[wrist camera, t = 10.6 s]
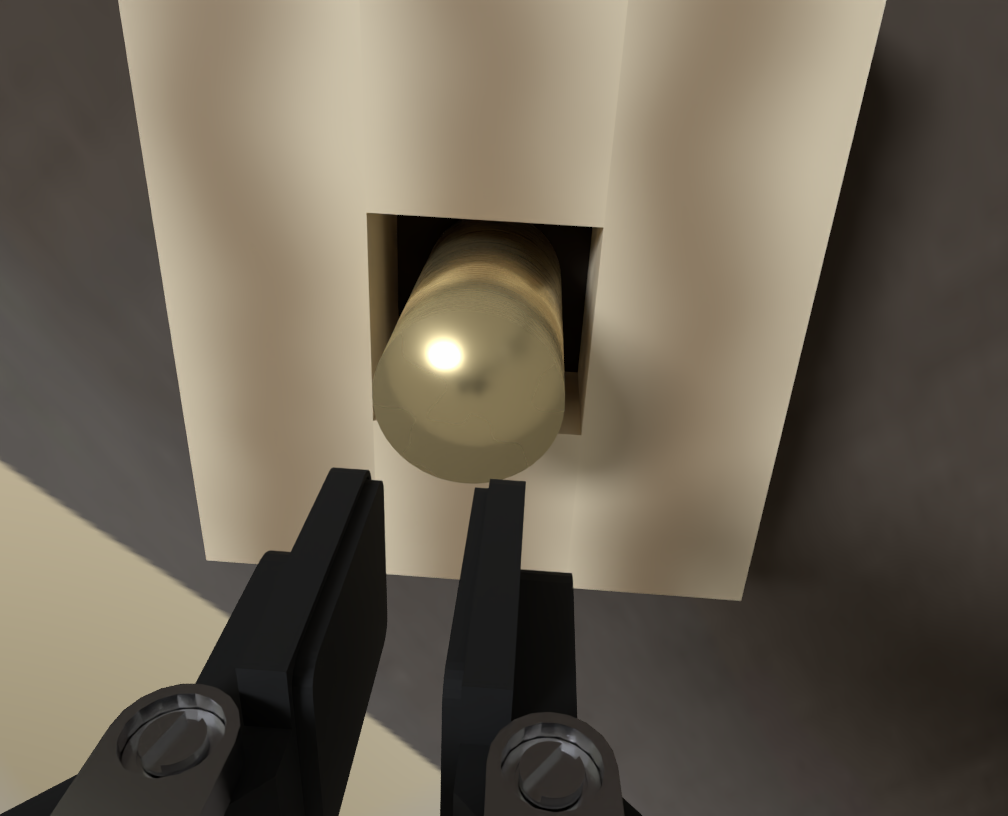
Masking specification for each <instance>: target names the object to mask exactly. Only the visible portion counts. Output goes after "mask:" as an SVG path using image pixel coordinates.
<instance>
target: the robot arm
mask: <svg viewBox="0 0 1008 816" xmlns="http://www.w3.org/2000/svg"><path fill="white" fill-rule="evenodd" d="M525 490H526V481H515V480H501V479H490V482H489V488H478V487H475V490H474V495H473V502H472V508H471V514H470V520H469V526H468V532H467V538H466V544H465V550H464V556H463V562H462V568H461V575H460V581H459V587H458V593H457V599H456V605H455V611H454V617H453V623H452V629H451V635H450V641H449V648H448V654H447V660H446V666H445V674H444V684H443V697H442V744H441V802H440V803H441V804H440V808H441V809H440V816H642V815H641V814H640V813H639V812H638V811H637V810H636V809H635V808H633V807H632V806H631V805H630V804H629V803H628V802H627V801H626V800H625V799H624V798H622V793H621V785H620V778H619V770H618V765H617V762H616V759H615V756H614V753H613V750H612V749H611V747H610V746H609V744H608V743H607V741H606V740H605V739H604V737H603V736H602V735H601V734H600V733H599V732H597V731H596V730H595V729H594V728H592V727H591V726H590V725H589V724H587V723H586V722H583V721H581V720H579V719H577V696H576V662H575V629H574V595H573V575H572V573H564V572H551V571H537V570H524V569H521V555H522V539H523V522H524V506H525ZM386 629H387V588H386V550H385V512H384V485H383V481H381V480H372V479H371V473H370V471H369V470H363V469H349V468H335V467H333V468H331V469H330V471H329V473H328V475H327V477H326V479H325V481H324V483H323V485H322V487H321V489H320V491H319V494H318V496H317V498H316V500H315V502H314V504H313V506H312V508H311V510H310V512H309V515H308V517H307V519H306V521H305V523H304V525H303V527H302V529H301V531H300V533H299V536H298V538H297V540H296V542H295V544H294V546H293V548H292V550H291V552H286V551H273V550H269V551H267V552H266V553H265V554H264V555H263V557H262V558H261V559H260V561H259V563H258V565H257V567H256V569H255V571H254V573H253V575H252V576H251V578H250V580H249V582H248V584H247V586H246V588H245V590H244V592H243V594H242V596H241V597H240V599H239V601H238V603H237V605H236V607H235V609H234V611H233V613H232V615H231V617H230V618H229V620H228V622H227V624H226V626H225V628H224V630H223V632H222V634H221V636H220V638H219V640H218V642H217V643H216V646H215V647H214V649H213V651H212V653H211V655H210V657H209V659H208V660H207V663H206V664H205V666H204V668H203V670H202V672H201V674H200V676H199V678H198V680H197V682H196V684H179V685H174V686H170V687H166V688H161V689H159V690H157V691H155V692H152V693H150V694H148V695H146V696H143V697H141V698H140V699H138V700H137V701H136V702H134V703H133V704H132V705H130V706H129V707H127V708H126V709H125V710H123V711H122V713H121V714H120V715H119V716H118V717H117V719H115V720H114V722H113V723H112V724H111V725H110V726H109V728H108V730H107V731H106V732H105V734H104V735H103V737H102V738H101V740H100V741H99V743H98V745H97V746H96V747H95V749H94V750H93V752H92V753H91V755H90V757H89V758H88V759H87V761H86V762H85V764H84V765H83V767H82V768H81V770H80V771H79V773H78V774H77V775H75V776H73V777H71V778H70V779H67V780H66V781H64V782H62V783H60V784H58V785H56V786H54V787H52V788H50V789H48V790H46V791H45V792H43V793H41V794H39V795H37V796H35V797H33V798H31V799H29V800H27V801H25V802H23V803H22V804H19V805H17V806H15V807H14V808H12V809H10V810H8V811H6V812H4V813H2V814H0V816H338V815H339V812H340V807H341V804H342V800H343V796H344V792H345V789H346V785H347V781H348V777H349V774H350V770H351V766H352V763H353V759H354V755H355V751H356V747H357V744H358V740H359V736H360V732H361V729H362V725H363V721H364V717H365V714H366V710H367V706H368V702H369V698H370V695H371V691H372V687H373V683H374V680H375V676H376V672H377V668H378V664H379V661H380V657H381V653H382V649H383V646H384V641H385V636H386Z"/></svg>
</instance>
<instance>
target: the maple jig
mask: <svg viewBox="0 0 1008 816" xmlns="http://www.w3.org/2000/svg"><path fill="white" fill-rule="evenodd" d="M118 2H119V8H120V15H121V21H122V27H123V34H124V40H125V46H126V53H127V59H128V65H129V72H130V78H131V84H132V91H133V97H134V103H135V110H136V116H137V122H138V129H139V135H140V141H141V148H142V154H143V160H144V167H145V173H146V179H147V186H148V192H149V198H150V205H151V211H152V217H153V224H154V230H155V237H156V243H157V249H158V256H159V262H160V268H161V275H162V281H163V287H164V294H165V300H166V306H167V313H168V319H169V325H170V332H171V338H172V344H173V351H174V357H175V363H176V370H177V376H178V382H179V389H180V395H181V401H182V408H183V414H184V420H185V427H186V433H187V439H188V446H189V452H190V458H191V465H192V471H193V477H194V484H195V490H196V496H197V503H198V509H199V515H200V522H201V528H202V534H203V541H204V547H205V553H206V560H211V561H224V562H237V563H250V564H258V563H259V561H260V559H261V558H262V557H263V555H264V554H265V553H266V552H267V551H269V550H273V551H286V552H291V550H292V548H293V546H294V544H295V542H296V540H297V538H298V536H299V533H300V531H301V529H302V527H303V525H304V523H305V521H306V519H307V517H308V515H309V512H310V510H311V508H312V506H313V504H314V502H315V500H316V498H317V496H318V494H319V491H320V489H321V487H322V485H323V483H324V481H325V479H326V477H327V475H328V473H329V471H330V469H331V468H333V467H335V468H349V469H363V470H369V471H370V473H371V479H372V480H381V481H383V485H384V512H385V550H386V574H395V575H408V576H421V577H434V578H447V579H460V575H461V568H462V562H463V556H464V550H465V544H466V538H467V532H468V526H469V520H470V514H471V508H472V502H473V495H474V490H475V487H478V488H489V483H479V484H469V483H458V482H452V481H448V480H443V479H440V478H437V477H435V476H432V475H430V474H428V473H425V472H423V471H421V470H420V469H418V468H416V467H415V466H413V465H412V464H410V463H409V462H408V461H406V460H405V459H404V458H403V457H402V456H401V455H400V454H399V453H398V452H397V451H396V450H395V449H394V448H393V447H392V446H391V444H390V443H389V442H388V440H387V439H386V438H385V436H384V434H383V432H382V431H381V429H380V426H379V424H378V421H377V419H376V416H375V412H374V408H373V399H372V386H373V379H374V374H375V371H376V368H377V365H378V362H379V360H380V358H381V356H382V354H383V352H384V350H385V348H386V346H387V343H388V341H389V339H390V337H391V335H392V333H393V331H394V329H395V327H396V324H397V322H398V320H399V318H398V248H397V215H412V216H428V217H444V218H460V219H476V220H492V221H508V222H523V223H539V224H555V225H571V226H587V227H592V235H591V245H590V255H589V265H588V275H587V285H586V295H585V305H584V315H583V325H582V335H581V345H580V355H579V364H578V372H566V371H564V382H565V410H564V416H563V421H562V424H561V427H560V430H559V432H558V434H557V436H556V438H555V440H554V442H553V443H552V445H551V446H550V448H549V449H548V450H547V451H546V452H545V454H544V455H543V456H542V457H541V458H540V459H539V460H537V461H536V462H535V463H534V464H533V465H531V466H530V467H528V468H527V469H525V470H524V471H522V472H520V473H518V474H516V475H514V476H511V477H508V478H505V479H502V480H515V481H526V490H525V506H524V522H523V539H522V555H521V569H524V570H537V571H551V572H564V573H572V575H573V588H579V589H592V590H605V591H618V592H631V593H645V594H658V595H671V596H684V597H697V598H710V599H724V600H737V601H741V599H742V595H743V591H744V587H745V582H746V578H747V574H748V570H749V566H750V562H751V558H752V553H753V549H754V545H755V541H756V537H757V533H758V529H759V525H760V520H761V516H762V512H763V508H764V504H765V500H766V496H767V491H768V487H769V483H770V479H771V475H772V471H773V467H774V462H775V458H776V454H777V450H778V446H779V442H780V438H781V434H782V429H783V425H784V421H785V417H786V413H787V409H788V405H789V400H790V396H791V392H792V388H793V384H794V380H795V376H796V372H797V367H798V363H799V359H800V355H801V351H802V347H803V343H804V338H805V334H806V330H807V326H808V322H809V318H810V314H811V310H812V305H813V301H814V297H815V293H816V289H817V285H818V281H819V276H820V272H821V268H822V264H823V260H824V256H825V252H826V247H827V243H828V239H829V235H830V231H831V227H832V223H833V219H834V214H835V210H836V206H837V202H838V198H839V194H840V190H841V185H842V181H843V177H844V173H845V169H846V165H847V161H848V157H849V152H850V148H851V144H852V140H853V136H854V132H855V128H856V123H857V119H858V115H859V111H860V107H861V103H862V99H863V95H864V90H865V86H866V82H867V78H868V74H869V70H870V66H871V61H872V57H873V53H874V49H875V45H876V41H877V37H878V32H879V28H880V24H881V20H882V16H883V12H884V8H885V4H886V0H118Z"/></svg>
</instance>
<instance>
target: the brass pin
mask: <svg viewBox="0 0 1008 816" xmlns="http://www.w3.org/2000/svg"><path fill="white" fill-rule="evenodd" d="M372 399H373V408H374V412H375V416H376V419H377V421H378V424H379V426H380V429H381V431H382V432H383V434H384V436H385V438H386V439H387V440H388V442H389V443H390V444H391V446H392V447H393V448H394V449H395V450H396V451H397V452H398V453H399V454H400V455H401V456H402V457H403V458H404V459H405V460H406V461H408V462H409V463H410V464H412V465H413V466H415V467H416V468H418V469H420V470H421V471H423V472H425V473H428V474H430V475H432V476H435V477H437V478H440V479H443V480H448V481H452V482H458V483H469V484H479V483H489V482H490V479H501V480H502V479H505V478H508V477H511V476H514V475H516V474H518V473H520V472H522V471H524V470H525V469H527V468H528V467H530V466H531V465H533V464H534V463H535V462H536V461H537V460H539V459H540V458H541V457H542V456H543V455H544V454H545V452H546V451H547V450H548V449H549V448H550V446H551V445H552V443H553V442H554V440H555V438H556V436H557V434H558V432H559V430H560V427H561V424H562V421H563V416H564V410H565V382H564V350H563V318H562V286H561V270H560V264H559V261H558V257H557V255H556V252H555V250H554V248H553V247H552V245H551V243H550V242H549V240H548V239H547V238H546V237H545V235H544V234H543V233H542V232H541V231H540V230H539V229H537V228H536V227H535V226H534V225H532V224H531V223H523V222H508V221H492V220H476V219H461V220H459V221H458V222H456V223H454V224H453V225H452V226H450V227H449V228H448V229H447V230H446V231H445V232H444V233H443V234H442V235H441V236H440V237H439V239H438V240H437V242H436V243H435V245H434V247H433V249H432V251H431V253H430V255H429V257H428V259H427V261H426V263H425V265H424V268H423V270H422V272H421V274H420V276H419V278H418V280H417V282H416V284H415V287H414V289H413V291H412V293H411V295H410V297H409V299H408V301H407V303H406V305H405V308H404V310H403V312H402V314H401V316H400V318H399V320H398V322H397V324H396V327H395V329H394V331H393V333H392V335H391V337H390V339H389V341H388V343H387V346H386V348H385V350H384V352H383V354H382V356H381V358H380V360H379V362H378V365H377V368H376V371H375V374H374V379H373V386H372Z"/></svg>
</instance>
